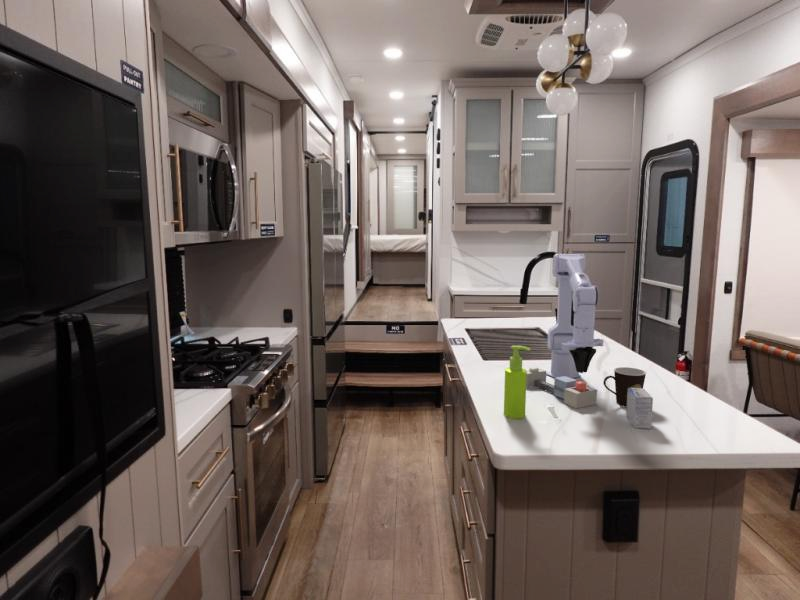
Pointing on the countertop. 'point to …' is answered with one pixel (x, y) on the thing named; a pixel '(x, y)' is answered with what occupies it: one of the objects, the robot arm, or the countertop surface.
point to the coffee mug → (626, 382)
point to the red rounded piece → (580, 386)
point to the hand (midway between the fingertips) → (581, 371)
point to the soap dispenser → (515, 386)
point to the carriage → (563, 385)
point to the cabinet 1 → (535, 376)
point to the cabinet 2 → (580, 397)
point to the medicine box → (639, 408)
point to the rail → (544, 385)
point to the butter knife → (552, 411)
